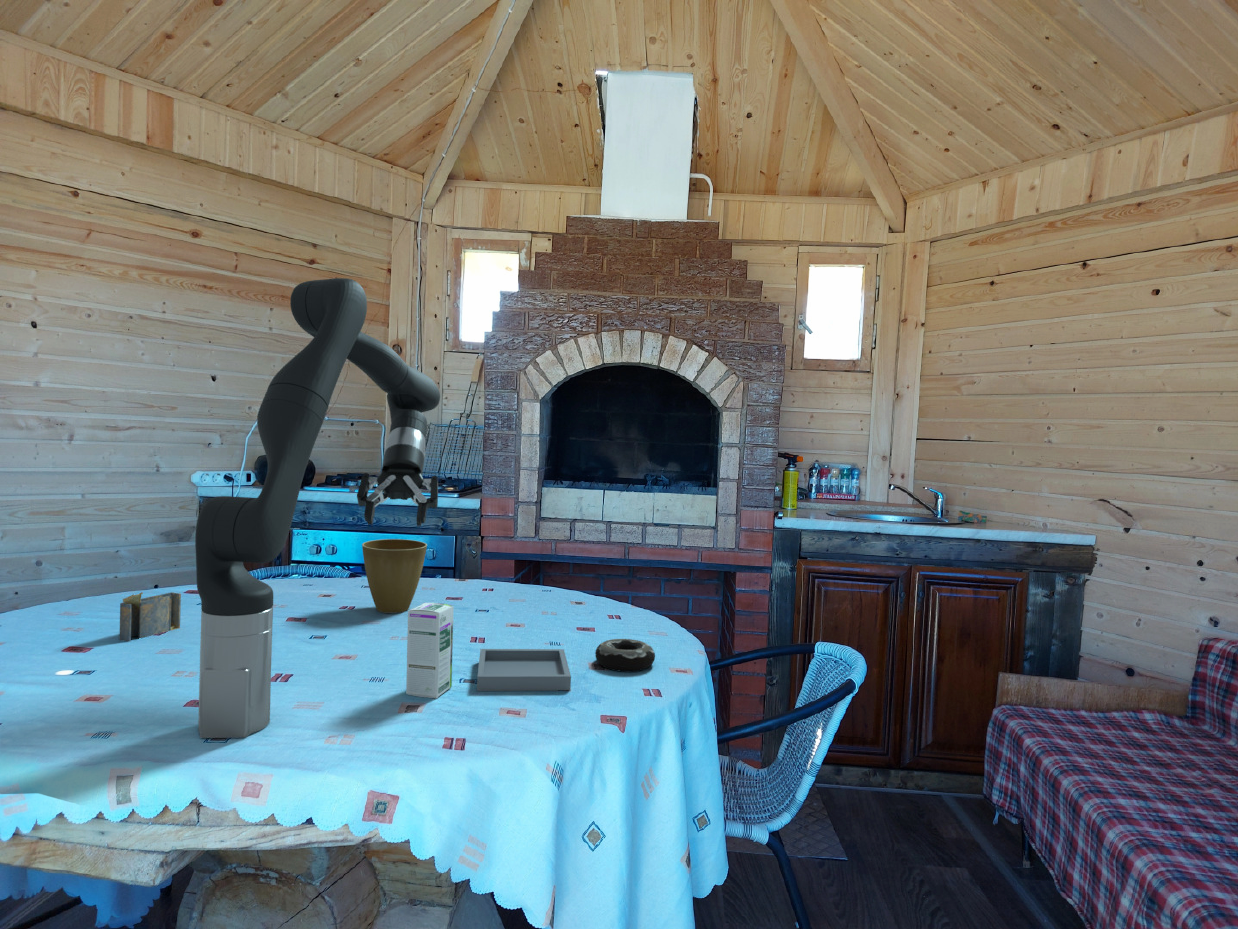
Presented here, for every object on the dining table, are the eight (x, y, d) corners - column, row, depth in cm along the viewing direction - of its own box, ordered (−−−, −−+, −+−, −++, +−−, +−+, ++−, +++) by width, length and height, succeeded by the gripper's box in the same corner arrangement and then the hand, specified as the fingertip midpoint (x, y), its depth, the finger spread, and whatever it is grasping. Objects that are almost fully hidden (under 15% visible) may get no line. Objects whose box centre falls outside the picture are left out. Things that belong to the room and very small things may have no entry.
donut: (640, 654, 153) (641, 635, 153) (664, 672, 142) (665, 651, 142) (586, 657, 149) (587, 638, 149) (607, 676, 138) (608, 655, 138)
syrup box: (437, 699, 122) (440, 612, 122) (404, 695, 123) (407, 608, 123) (452, 688, 128) (455, 604, 127) (420, 684, 129) (423, 601, 128)
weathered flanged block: (131, 644, 144) (132, 594, 144) (119, 642, 145) (120, 592, 145) (181, 630, 155) (182, 584, 155) (170, 628, 156) (171, 582, 156)
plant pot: (348, 607, 179) (351, 541, 178) (405, 600, 189) (407, 537, 188) (377, 620, 168) (380, 550, 167) (436, 612, 179) (438, 545, 178)
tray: (570, 690, 129) (570, 676, 129) (476, 691, 127) (477, 676, 127) (563, 661, 145) (563, 649, 145) (479, 661, 143) (480, 648, 142)
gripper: (364, 441, 140) (350, 508, 130) (441, 444, 143) (434, 511, 132) (368, 467, 146) (355, 534, 135) (442, 469, 148) (435, 535, 138)
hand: (394, 522), depth 134 cm, fingers open, 8 cm apart
